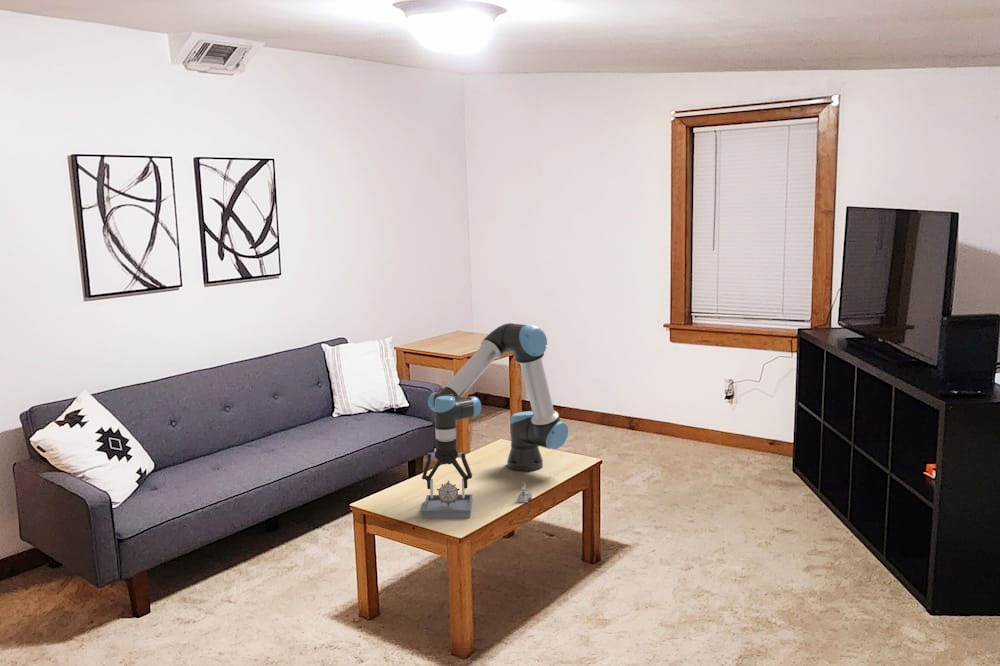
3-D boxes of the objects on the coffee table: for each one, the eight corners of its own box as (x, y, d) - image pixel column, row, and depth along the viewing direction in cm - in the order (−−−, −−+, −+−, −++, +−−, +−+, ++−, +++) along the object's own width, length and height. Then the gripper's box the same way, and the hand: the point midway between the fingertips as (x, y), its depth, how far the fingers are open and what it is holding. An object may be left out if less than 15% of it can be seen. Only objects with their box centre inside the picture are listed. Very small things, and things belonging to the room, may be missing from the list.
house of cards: (540, 506, 308) (540, 486, 307) (517, 506, 309) (516, 486, 308) (541, 498, 317) (541, 478, 316) (518, 498, 318) (518, 478, 317)
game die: (456, 500, 310) (456, 475, 308) (463, 509, 302) (463, 482, 300) (433, 503, 307) (433, 477, 305) (439, 511, 299) (439, 485, 297)
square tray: (472, 501, 313) (472, 494, 313) (470, 518, 296) (470, 510, 296) (427, 502, 314) (427, 495, 313) (422, 518, 296) (421, 510, 296)
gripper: (478, 435, 305) (479, 493, 308) (415, 436, 305) (417, 494, 308) (477, 441, 297) (479, 500, 300) (412, 442, 298) (414, 500, 301)
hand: (447, 497), depth 304 cm, fingers open, 11 cm apart
